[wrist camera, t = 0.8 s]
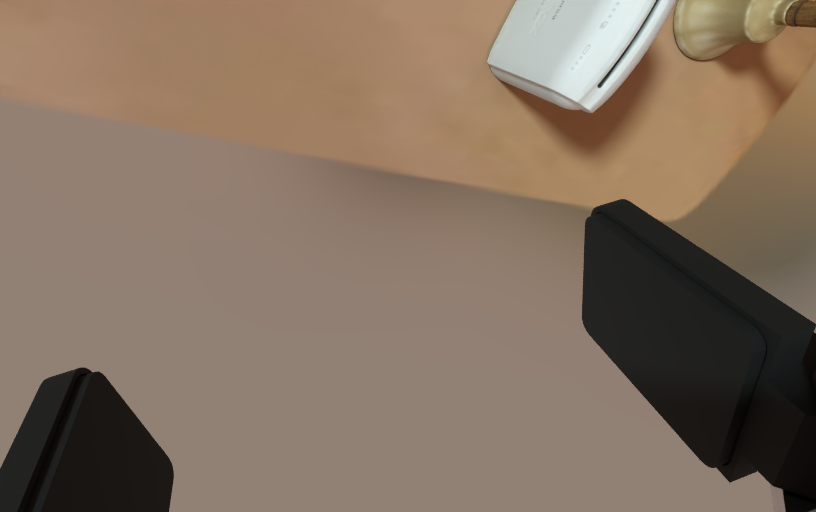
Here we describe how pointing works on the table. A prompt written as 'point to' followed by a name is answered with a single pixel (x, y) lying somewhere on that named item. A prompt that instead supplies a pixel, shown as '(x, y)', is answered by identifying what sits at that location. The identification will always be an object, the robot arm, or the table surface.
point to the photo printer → (575, 47)
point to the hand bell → (735, 23)
